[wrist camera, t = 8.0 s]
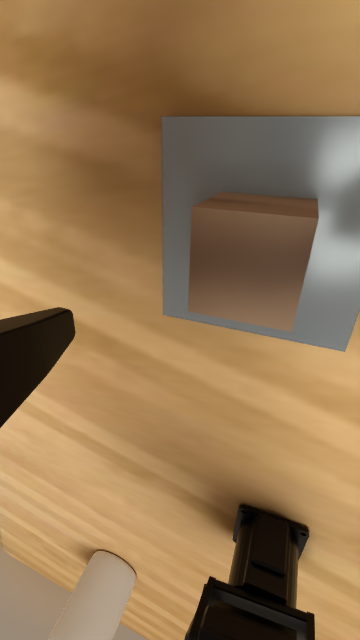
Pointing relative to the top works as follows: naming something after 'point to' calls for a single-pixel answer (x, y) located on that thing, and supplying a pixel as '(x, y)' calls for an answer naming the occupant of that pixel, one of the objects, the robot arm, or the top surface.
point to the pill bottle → (96, 600)
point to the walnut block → (250, 257)
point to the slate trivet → (275, 180)
